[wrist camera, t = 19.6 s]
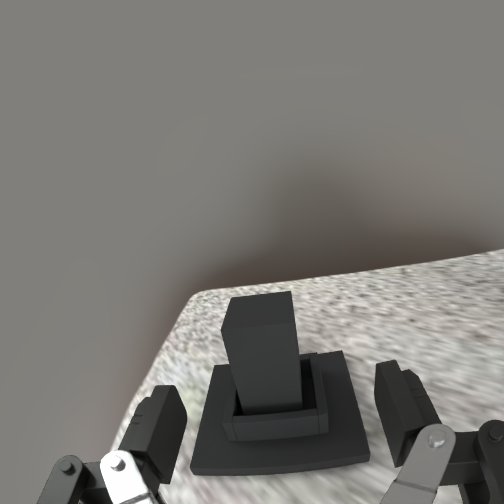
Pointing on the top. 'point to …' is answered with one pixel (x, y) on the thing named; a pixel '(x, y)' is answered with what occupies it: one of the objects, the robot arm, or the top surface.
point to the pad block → (264, 353)
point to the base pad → (282, 426)
